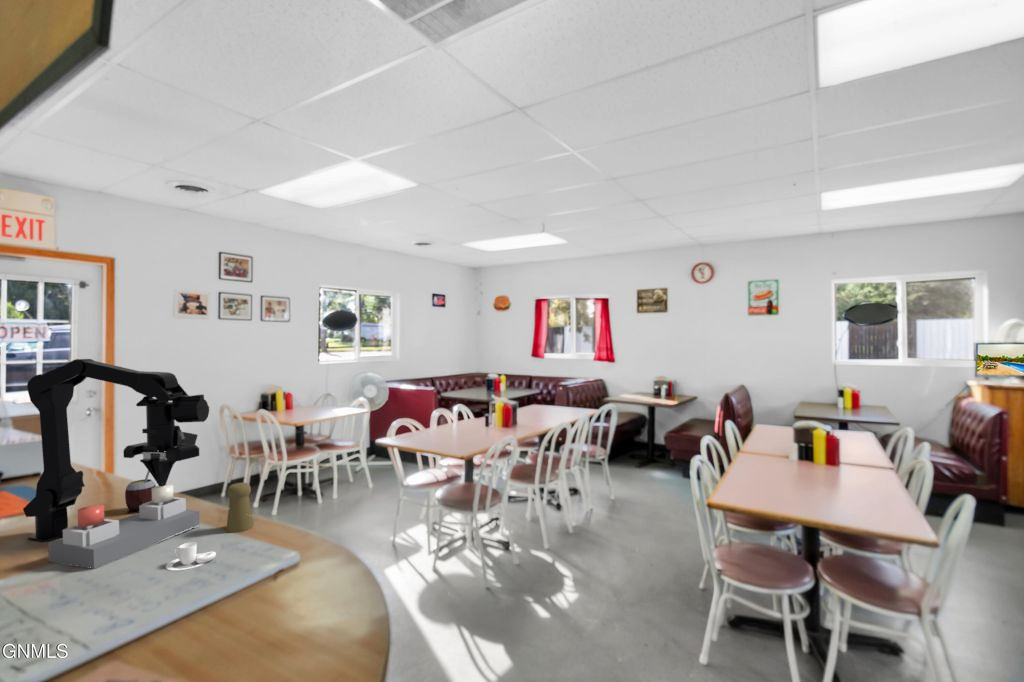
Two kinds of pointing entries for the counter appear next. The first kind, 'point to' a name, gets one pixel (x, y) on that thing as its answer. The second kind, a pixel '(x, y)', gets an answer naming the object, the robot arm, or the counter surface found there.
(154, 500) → the cream plunger
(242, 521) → the cork
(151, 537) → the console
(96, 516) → the red plunger
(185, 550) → the teacup and saucer
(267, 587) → the counter surface
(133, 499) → the mate gourd
